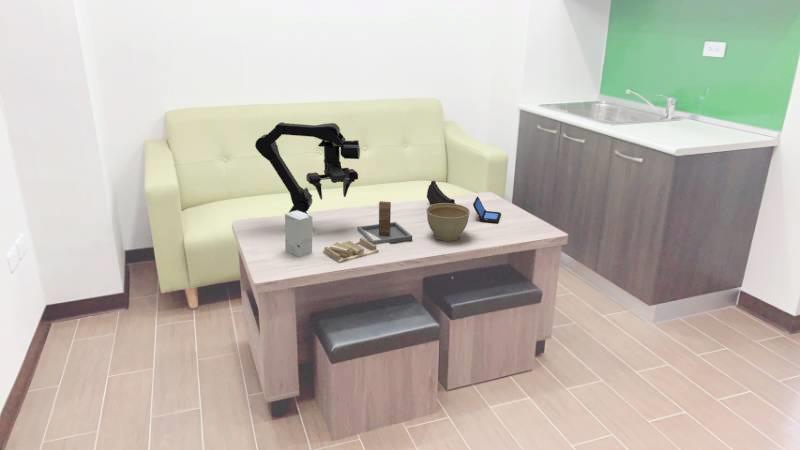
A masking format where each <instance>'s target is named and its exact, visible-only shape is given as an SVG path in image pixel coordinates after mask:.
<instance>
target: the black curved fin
mask: <svg viewBox="0 0 800 450" xmlns="http://www.w3.org/2000/svg"><path fill="white" fill-rule="evenodd" d="M426 199H427V201H428V202H429V204H430V206H431V205H434V204H439V203H452V204H456V201H455V199H453V198H449V196H447V195H446V194H445V193H444V192H443V191H442V190H441V189H440V187H439V186H438V184H437V181H436V180H431V181H430V184H429V185H428V188H427V192H426Z"/></svg>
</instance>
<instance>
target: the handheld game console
mask: <svg viewBox="0 0 800 450" xmlns="http://www.w3.org/2000/svg"><path fill="white" fill-rule="evenodd" d="M473 208H474V210H475V212H476V214H477V216H478V218H479V222H480V223H489V224H498V223H499V222H500V218H501V215H502V213H501V212H499V211H491V210H490V211H489V210H487V209H485V207H484V205H483V203H482V200H480V197H479V196H476V198H475V200H474V202H473Z"/></svg>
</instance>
